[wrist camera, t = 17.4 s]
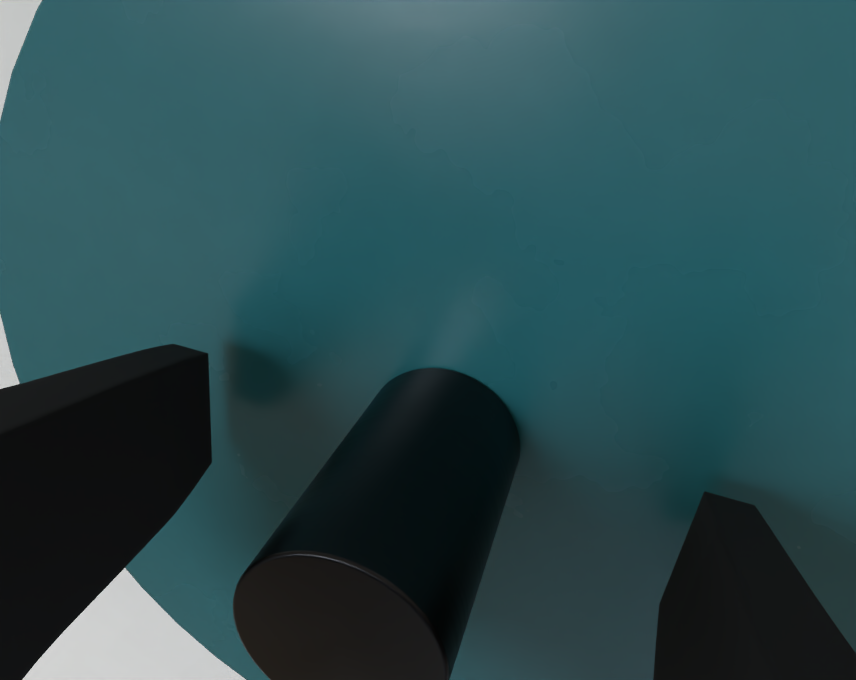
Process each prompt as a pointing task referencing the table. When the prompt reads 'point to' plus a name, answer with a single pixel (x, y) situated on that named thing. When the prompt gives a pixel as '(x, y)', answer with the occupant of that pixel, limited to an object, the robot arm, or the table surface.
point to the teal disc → (453, 306)
